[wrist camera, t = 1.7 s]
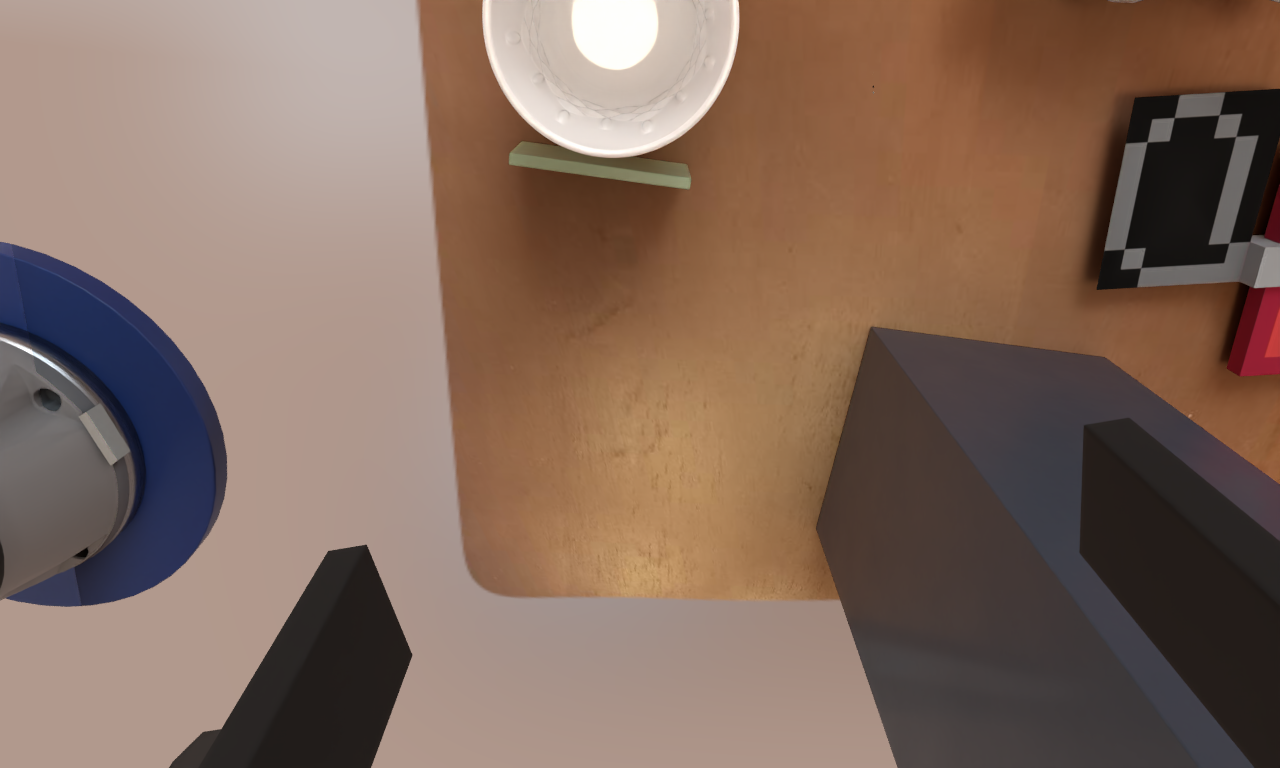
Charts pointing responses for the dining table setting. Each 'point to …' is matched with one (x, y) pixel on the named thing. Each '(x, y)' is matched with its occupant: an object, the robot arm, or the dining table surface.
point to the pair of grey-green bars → (601, 165)
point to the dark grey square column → (1006, 560)
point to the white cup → (611, 67)
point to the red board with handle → (1202, 208)
